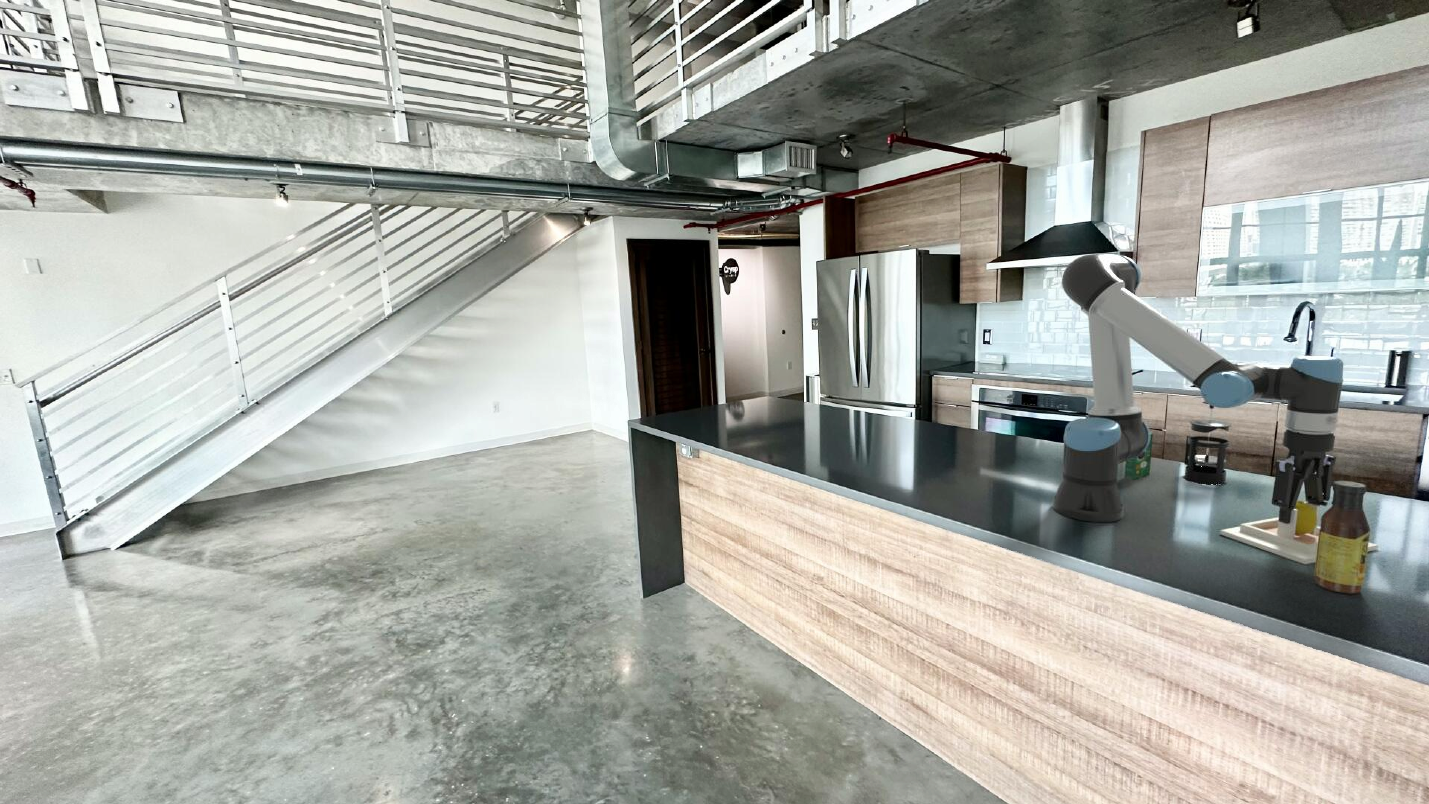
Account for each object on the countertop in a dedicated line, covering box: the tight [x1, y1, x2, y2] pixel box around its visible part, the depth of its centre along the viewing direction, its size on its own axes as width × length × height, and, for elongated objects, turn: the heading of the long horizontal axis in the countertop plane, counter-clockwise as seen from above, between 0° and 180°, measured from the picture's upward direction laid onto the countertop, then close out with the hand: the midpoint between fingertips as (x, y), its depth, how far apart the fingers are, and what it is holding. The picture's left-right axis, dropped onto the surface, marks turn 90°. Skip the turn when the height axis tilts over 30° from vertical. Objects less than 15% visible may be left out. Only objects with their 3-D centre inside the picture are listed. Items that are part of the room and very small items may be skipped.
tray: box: [1219, 516, 1379, 565], centre depth 126 cm, size 20×16×2 cm
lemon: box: [1294, 500, 1318, 536], centre depth 126 cm, size 6×6×8 cm
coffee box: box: [1123, 432, 1154, 480], centre depth 172 cm, size 8×3×13 cm, turn 114°
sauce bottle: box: [1314, 480, 1371, 595], centre depth 106 cm, size 6×6×20 cm
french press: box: [1183, 400, 1232, 486], centre depth 165 cm, size 12×9×23 cm
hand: (1296, 534), depth 126 cm, fingers closed on lemon, 5 cm apart
